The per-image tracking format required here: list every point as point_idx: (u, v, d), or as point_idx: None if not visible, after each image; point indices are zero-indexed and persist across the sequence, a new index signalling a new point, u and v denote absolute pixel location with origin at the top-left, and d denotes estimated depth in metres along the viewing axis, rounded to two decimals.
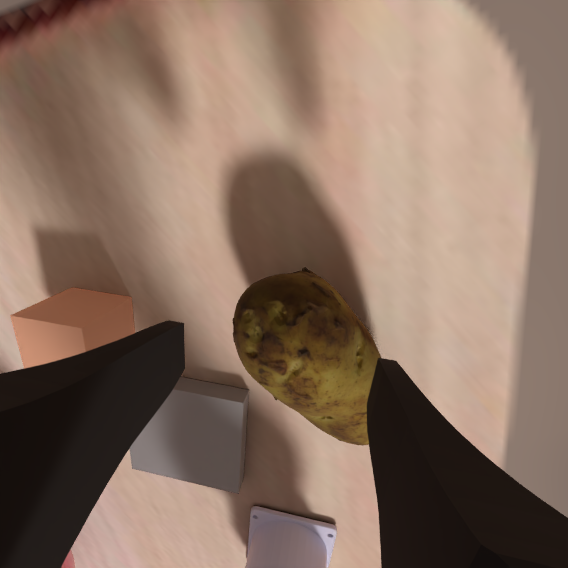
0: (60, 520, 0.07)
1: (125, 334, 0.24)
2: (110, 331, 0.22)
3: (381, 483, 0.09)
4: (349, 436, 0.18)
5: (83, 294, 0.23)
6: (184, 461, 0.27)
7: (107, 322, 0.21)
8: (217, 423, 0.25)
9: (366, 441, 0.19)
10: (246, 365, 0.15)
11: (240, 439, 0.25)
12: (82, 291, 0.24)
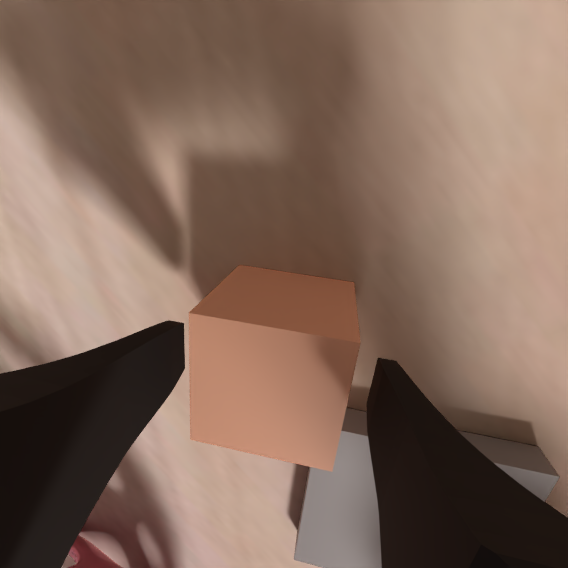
0: (60, 520, 0.07)
1: None
2: None
3: (381, 483, 0.09)
4: None
5: (272, 276, 0.13)
6: None
7: None
8: None
9: None
10: None
11: None
12: (264, 271, 0.13)
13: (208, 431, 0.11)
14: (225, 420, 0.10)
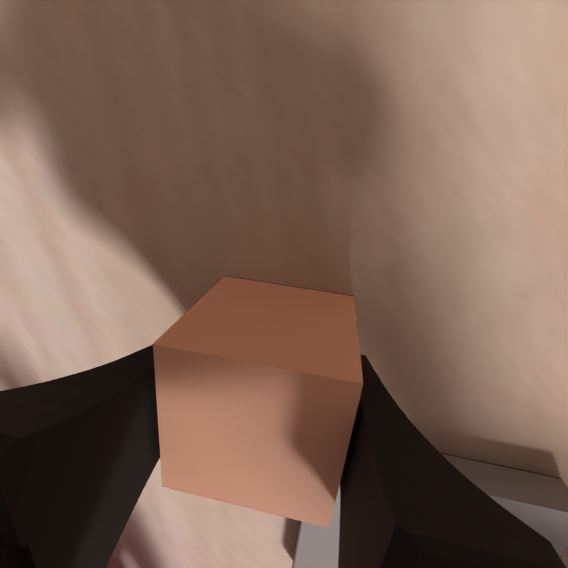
0: (101, 531, 0.07)
1: None
2: None
3: (343, 475, 0.09)
4: None
5: (260, 290, 0.11)
6: None
7: None
8: None
9: None
10: None
11: None
12: (251, 285, 0.12)
13: (182, 478, 0.09)
14: (201, 467, 0.09)
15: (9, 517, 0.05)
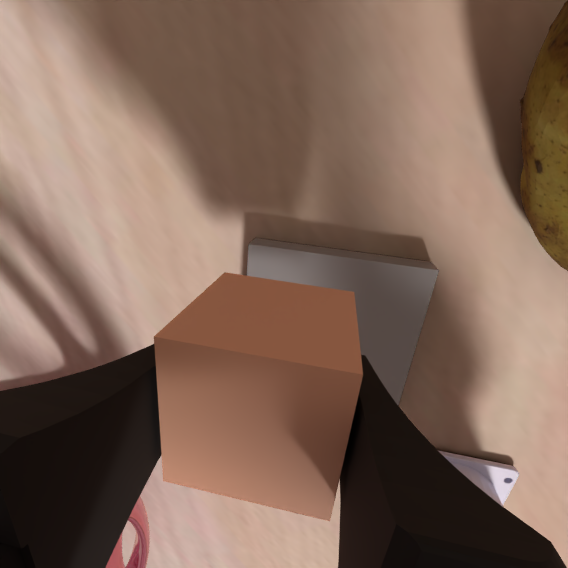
0: (101, 531, 0.07)
1: None
2: None
3: (343, 475, 0.09)
4: None
5: (261, 286, 0.11)
6: None
7: None
8: (387, 308, 0.17)
9: None
10: None
11: (418, 332, 0.17)
12: (251, 281, 0.12)
13: (183, 472, 0.09)
14: (202, 460, 0.09)
15: (9, 517, 0.05)
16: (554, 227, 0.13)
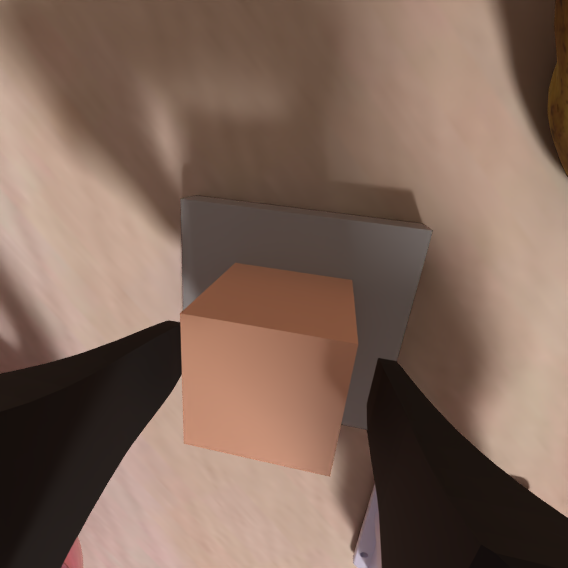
0: (60, 520, 0.07)
1: None
2: None
3: (381, 483, 0.09)
4: None
5: (268, 274, 0.12)
6: None
7: None
8: (365, 284, 0.13)
9: None
10: None
11: (406, 317, 0.13)
12: (259, 270, 0.13)
13: (202, 435, 0.10)
14: (219, 423, 0.10)
15: None
16: None
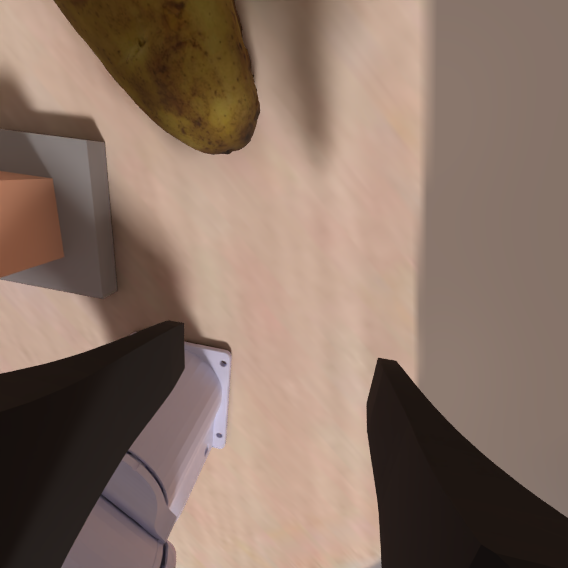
0: (60, 520, 0.07)
1: (42, 224, 0.19)
2: (16, 209, 0.17)
3: (381, 483, 0.09)
4: (181, 92, 0.13)
5: None
6: None
7: (8, 194, 0.17)
8: (61, 181, 0.19)
9: (210, 112, 0.14)
10: None
11: (92, 205, 0.19)
12: None
13: None
14: None
15: None
16: (113, 76, 0.15)
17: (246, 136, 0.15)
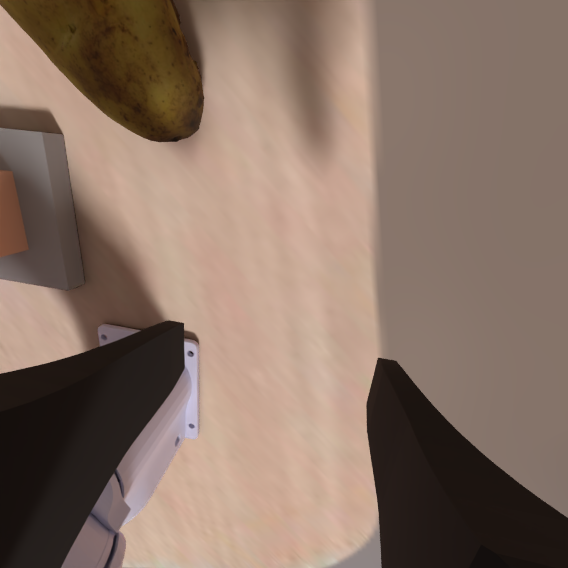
0: (60, 520, 0.07)
1: (2, 217, 0.19)
2: None
3: (381, 483, 0.09)
4: (117, 78, 0.13)
5: None
6: None
7: None
8: (20, 174, 0.19)
9: (147, 98, 0.14)
10: None
11: (51, 197, 0.19)
12: None
13: None
14: None
15: None
16: (57, 66, 0.15)
17: (191, 122, 0.15)
